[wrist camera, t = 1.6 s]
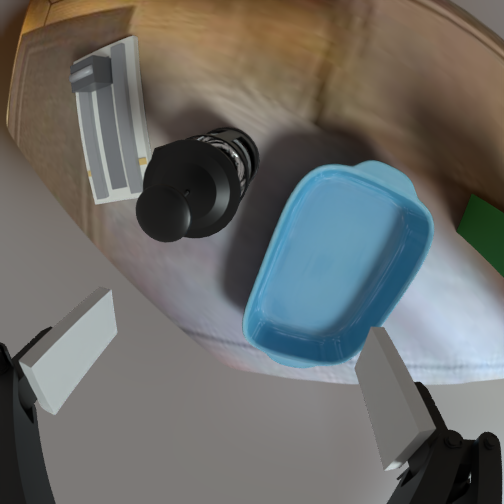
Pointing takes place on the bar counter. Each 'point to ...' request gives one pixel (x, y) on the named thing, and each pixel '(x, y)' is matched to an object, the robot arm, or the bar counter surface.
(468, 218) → the hardback book
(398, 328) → the bar counter surface
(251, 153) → the french press
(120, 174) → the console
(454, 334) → the bar counter surface
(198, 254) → the bar counter surface
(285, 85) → the bar counter surface
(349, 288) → the casserole dish
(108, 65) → the fader tab
